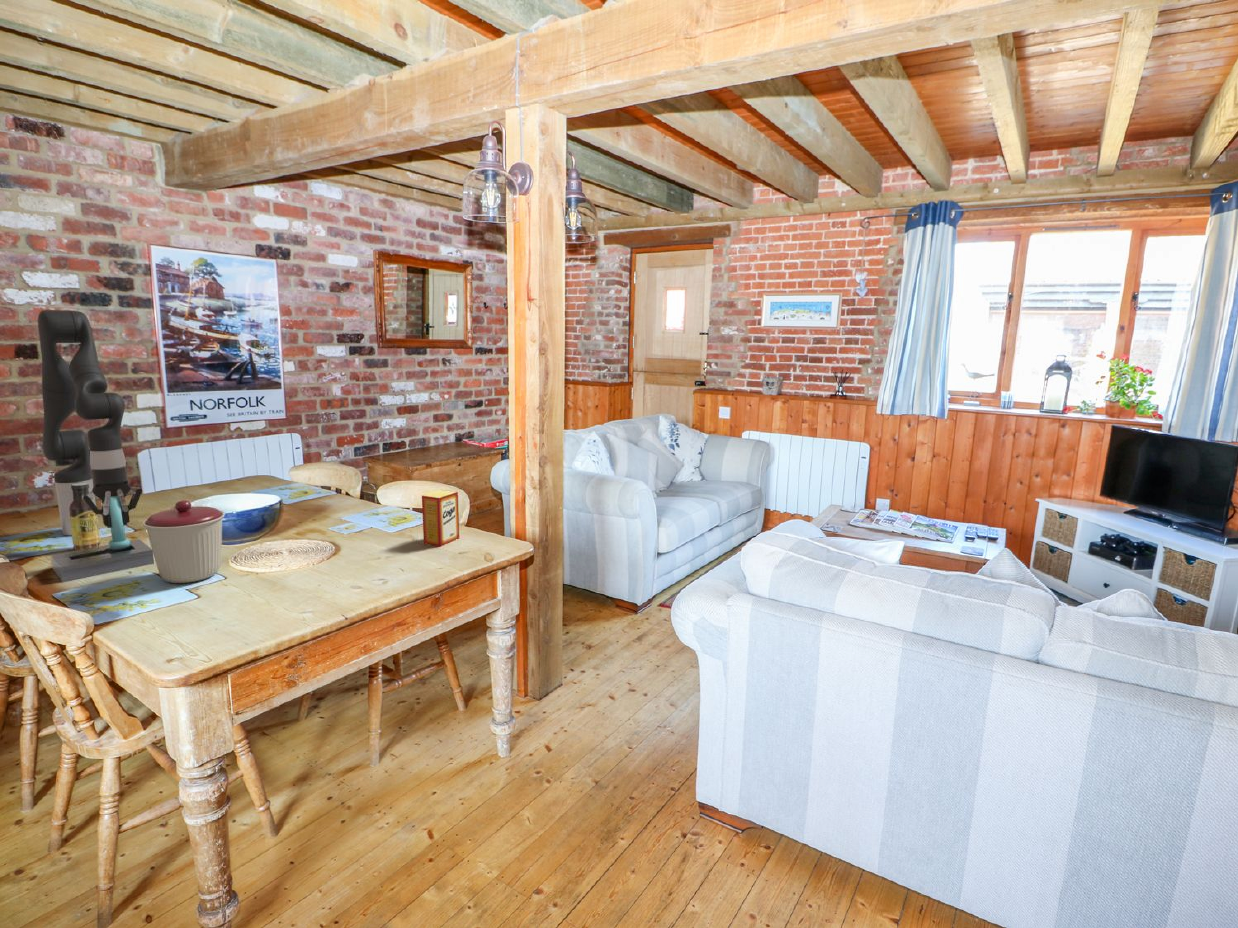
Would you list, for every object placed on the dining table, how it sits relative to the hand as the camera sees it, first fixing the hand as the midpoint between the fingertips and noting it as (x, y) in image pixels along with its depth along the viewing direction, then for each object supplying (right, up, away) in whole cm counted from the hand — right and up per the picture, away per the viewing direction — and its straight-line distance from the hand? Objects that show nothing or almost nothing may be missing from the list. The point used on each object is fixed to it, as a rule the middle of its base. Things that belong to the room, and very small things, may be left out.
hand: (117, 525), depth 180 cm
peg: (0, -6, +1) cm, 6 cm away
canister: (+26, -13, -7) cm, 30 cm away
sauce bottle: (-19, -8, +14) cm, 25 cm away
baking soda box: (+84, -8, +26) cm, 88 cm away
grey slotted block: (-3, -11, -1) cm, 12 cm away
